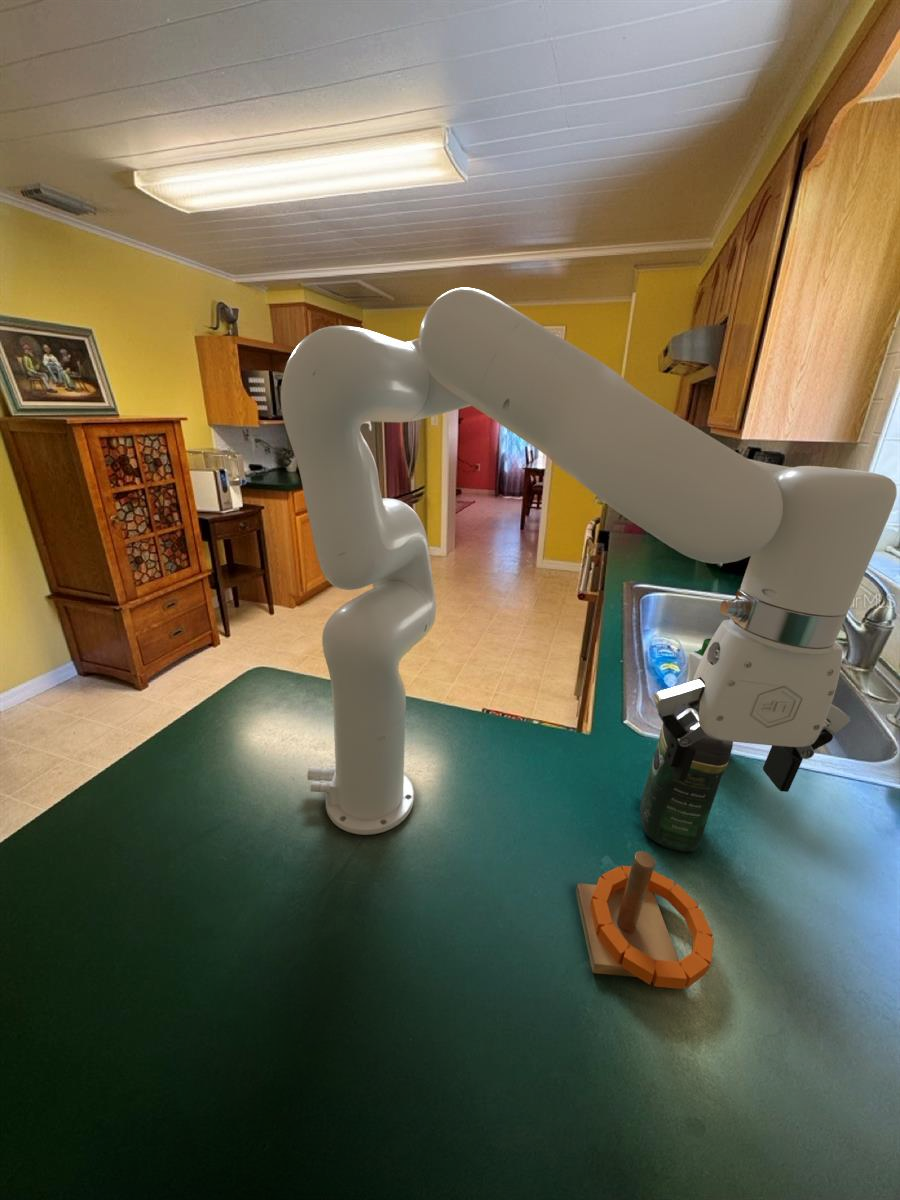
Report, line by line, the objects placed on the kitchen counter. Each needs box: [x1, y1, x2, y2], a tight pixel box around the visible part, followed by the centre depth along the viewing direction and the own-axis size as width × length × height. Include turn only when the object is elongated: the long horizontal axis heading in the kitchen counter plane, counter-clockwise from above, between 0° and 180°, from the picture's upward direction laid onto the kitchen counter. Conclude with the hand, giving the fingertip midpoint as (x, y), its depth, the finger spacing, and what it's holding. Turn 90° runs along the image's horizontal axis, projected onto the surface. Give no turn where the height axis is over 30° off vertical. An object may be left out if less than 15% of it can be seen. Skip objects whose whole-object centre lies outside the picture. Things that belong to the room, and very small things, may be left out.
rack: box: [575, 850, 680, 978], centre depth 51 cm, size 9×9×12 cm
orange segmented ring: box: [590, 865, 715, 990], centre depth 52 cm, size 12×12×2 cm
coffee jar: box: [639, 703, 734, 852], centre depth 64 cm, size 10×8×19 cm
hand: (724, 776), depth 46 cm, fingers open, 9 cm apart
